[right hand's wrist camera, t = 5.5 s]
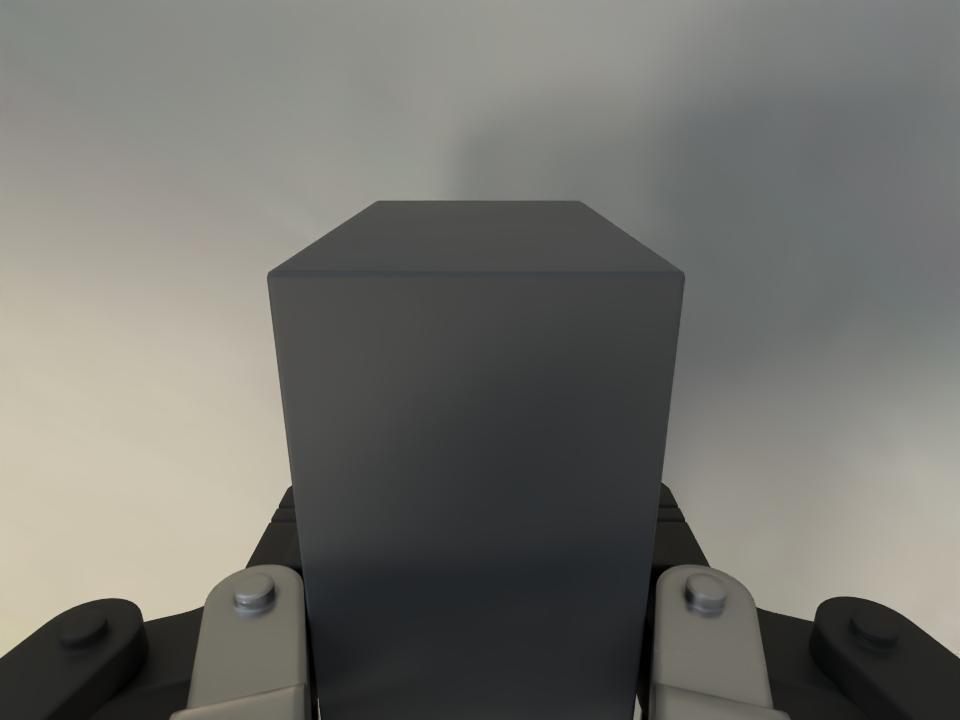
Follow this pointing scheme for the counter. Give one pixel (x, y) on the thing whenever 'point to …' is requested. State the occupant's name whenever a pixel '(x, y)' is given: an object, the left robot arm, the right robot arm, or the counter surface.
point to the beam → (476, 456)
